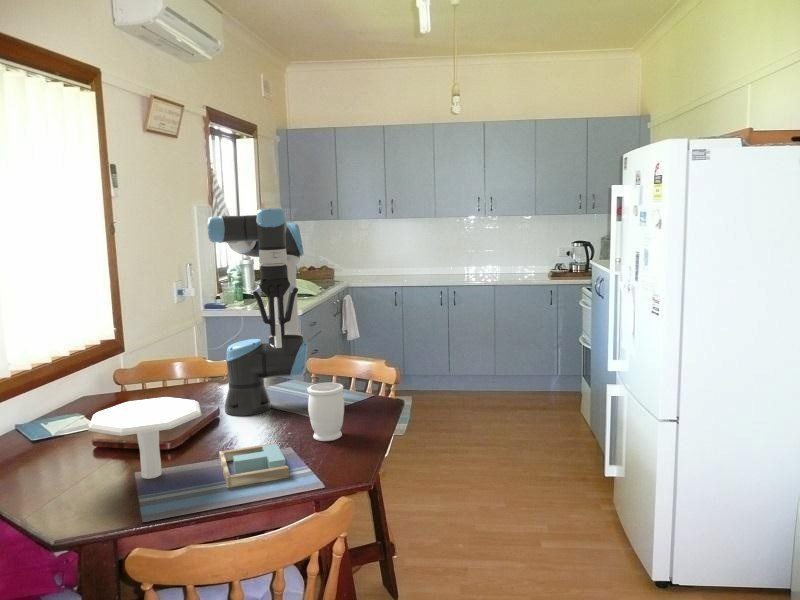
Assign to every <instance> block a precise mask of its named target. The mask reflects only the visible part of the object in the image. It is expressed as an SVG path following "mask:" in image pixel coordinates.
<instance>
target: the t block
mask: <svg viewBox="0 0 800 600" xmlns="http://www.w3.org/2000/svg"><path fill="white" fill-rule="evenodd" d="M232 463H233V471H234V474H240V473H246V472H252V471H258V470H264V469H270V468H276V467H282V466H287V465H286V458H285V456H284V453H282V451H281V449H280V447H279V445H278V444H277V443H276V444H273V445H267V446H262V452H256V453H250V454H243V455H237V456H233V462H232Z"/></svg>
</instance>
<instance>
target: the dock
mask: <svg viewBox="0 0 800 600" xmlns="http://www.w3.org/2000/svg"><path fill="white" fill-rule="evenodd" d="M273 444H277V442H272V443H265V444H260V445H253V446H246V447H240V448H239V447H238V448H233V449H227V450H220V451H218V452H219V463H220V465H221V470H222V475H223V478H224V482H225V486H226V488H227V489H231V488H234V487H235V488H236V487H240V486H241V487H243V486H246V485H252V484H253V485H254V484H258V483H264V482H269V481H270V482H271V481H276V480H282V479H288V478H290V468H289V466H288V465H286V466H282V467H276V468H270V469H264V470H258V471H252V472H246V473H240V474H235V473H234V474H231V473H230V470H229V467H228V464H227V462H231V461H233V456H237V455H243V454H250V453H256V452H262V446H267V445H273Z"/></svg>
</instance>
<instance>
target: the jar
mask: <svg viewBox="0 0 800 600" xmlns="http://www.w3.org/2000/svg"><path fill="white" fill-rule="evenodd" d="M306 390H307V393H308V394H309V395H308V399H307V400H308V401H307V404H308V405H307V410H308V415H309V419H310V420H309V421H310V424H311V428H312V430H313V431H314V433H313V435H312V436H313V439H314V440H316V441H319V442H331V441H335V440H338V439H340V438H341V437H342V436H343V433H342V431H341V429H342V428H343V424H344V414H345V401H344V395H343V390H344V385H343V384H342V383H337V382H321V383H315V384H312V385H309V386H308V387H307V388H306Z"/></svg>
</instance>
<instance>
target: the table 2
mask: <svg viewBox="0 0 800 600" xmlns="http://www.w3.org/2000/svg"><path fill="white" fill-rule="evenodd" d="M201 416H202V410H201V406H200V403H199V401H197V400H195V399H186V398H179V397H170V396H163V397H156V398H155V397H153V398H148V399H147V398H145V399H139V400H138V399H137V400H129V401H125V402H122V403H119V404H116V405H114V406H111V407H108V408H105V409H103V410H99V411H97V412H95V413H94V414H93V415H92V417H91V420H90V423H89V426H88V429H87V431H88V432H94V433H101V434H105V435H106V434H107V435H112V436H113V435H114V436H121V437H122V436H123V437H124V436H128V435H137V443H138V448H139V457H140V471H141V473H140V474H141V478H142V479H146V480H148V479H155V478H158V477H159V476H161V475H162V474H163V473H162V460H161V450H160V431H165V430H171V429H174V428H176V427H178V426H181V425H183V424H185V423H187V422H190V421H193V420H194V419H197V418H199V417H201Z"/></svg>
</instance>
